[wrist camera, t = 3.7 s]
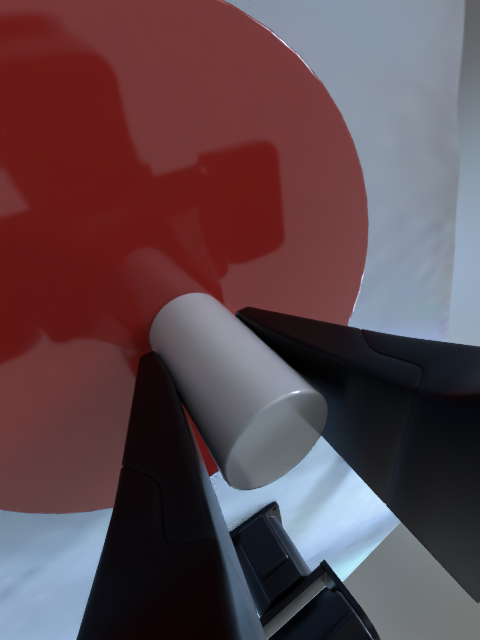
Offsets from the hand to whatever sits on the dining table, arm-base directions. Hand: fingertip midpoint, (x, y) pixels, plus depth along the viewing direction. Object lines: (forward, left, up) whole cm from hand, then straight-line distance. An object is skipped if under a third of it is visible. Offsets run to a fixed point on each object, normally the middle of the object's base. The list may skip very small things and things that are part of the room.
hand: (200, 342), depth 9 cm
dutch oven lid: (0, 0, -1) cm, 1 cm away
